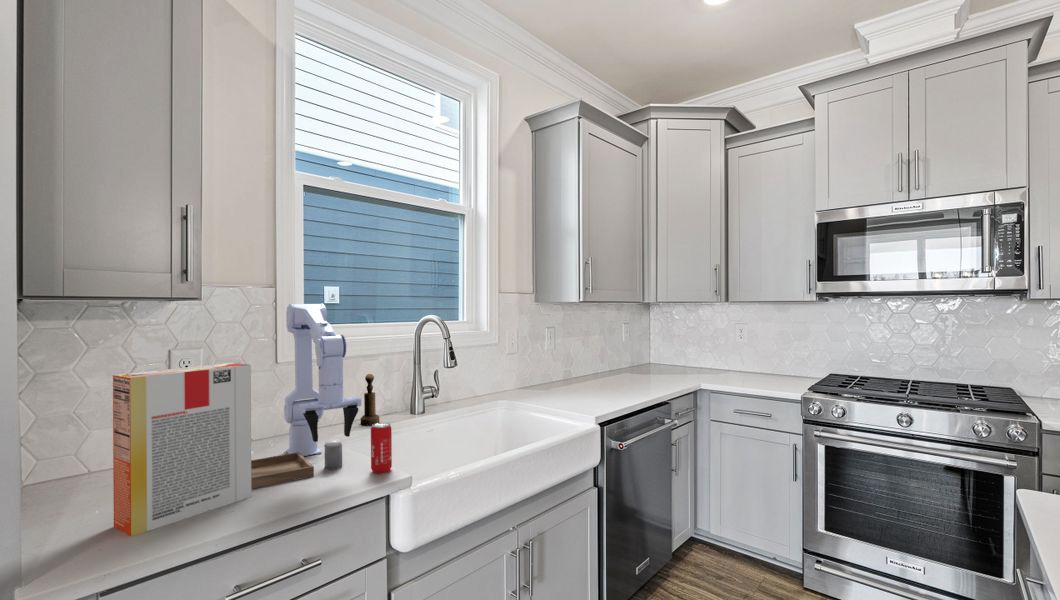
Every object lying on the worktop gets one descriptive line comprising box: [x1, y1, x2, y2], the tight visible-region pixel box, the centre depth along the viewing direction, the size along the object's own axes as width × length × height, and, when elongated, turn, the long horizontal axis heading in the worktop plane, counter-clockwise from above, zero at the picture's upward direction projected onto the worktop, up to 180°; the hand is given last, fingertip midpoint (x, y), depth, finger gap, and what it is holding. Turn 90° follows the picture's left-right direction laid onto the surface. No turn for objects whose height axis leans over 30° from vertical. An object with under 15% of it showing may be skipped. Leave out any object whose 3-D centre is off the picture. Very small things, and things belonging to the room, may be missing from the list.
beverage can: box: [370, 422, 393, 475], centre depth 133 cm, size 5×5×12 cm
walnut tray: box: [251, 452, 315, 490], centre depth 131 cm, size 16×16×2 cm
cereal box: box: [112, 362, 252, 537], centre depth 109 cm, size 23×8×30 cm, turn 148°
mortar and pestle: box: [360, 373, 381, 426], centre depth 186 cm, size 7×6×18 cm
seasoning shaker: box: [324, 438, 343, 471], centre depth 136 cm, size 4×4×7 cm
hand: (331, 438), depth 128 cm, fingers open, 7 cm apart
